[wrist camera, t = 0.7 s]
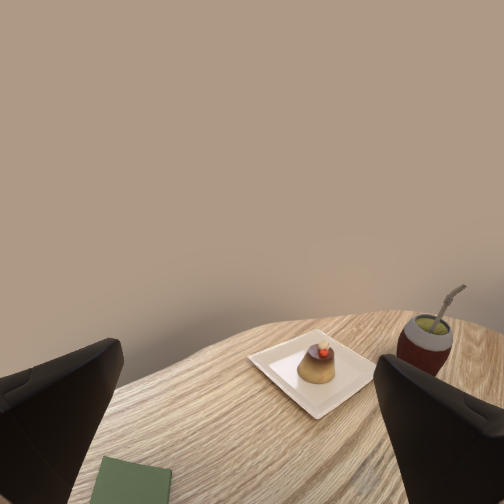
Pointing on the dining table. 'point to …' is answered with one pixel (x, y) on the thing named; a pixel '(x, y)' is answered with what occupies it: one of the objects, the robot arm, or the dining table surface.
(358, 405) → the dining table surface
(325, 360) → the dessert
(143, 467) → the coaster
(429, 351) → the mate gourd
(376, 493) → the dining table surface
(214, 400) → the dining table surface
